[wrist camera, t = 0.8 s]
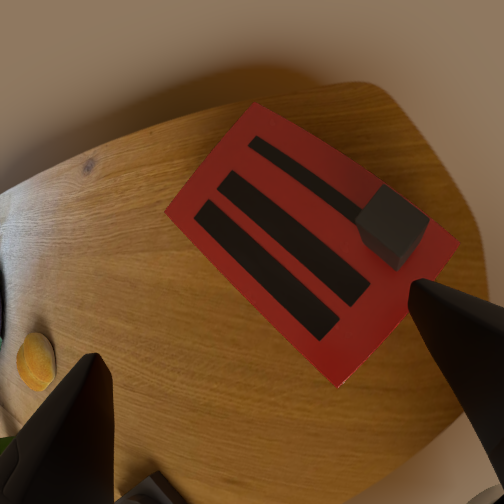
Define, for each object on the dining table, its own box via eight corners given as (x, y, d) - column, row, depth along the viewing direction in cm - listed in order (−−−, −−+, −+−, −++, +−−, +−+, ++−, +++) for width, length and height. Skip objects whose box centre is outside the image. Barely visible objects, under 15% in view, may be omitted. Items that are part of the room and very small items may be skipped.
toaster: (438, 264, 21) (461, 242, 14) (352, 365, 23) (337, 389, 15) (289, 150, 28) (253, 100, 21) (218, 236, 29) (162, 211, 22)
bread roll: (64, 370, 36) (40, 372, 32) (43, 397, 37) (22, 399, 34) (45, 320, 39) (23, 319, 35) (26, 351, 40) (6, 350, 37)
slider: (420, 242, 15) (431, 218, 11) (396, 272, 15) (400, 259, 11) (385, 213, 16) (383, 181, 12) (362, 242, 16) (353, 219, 12)
